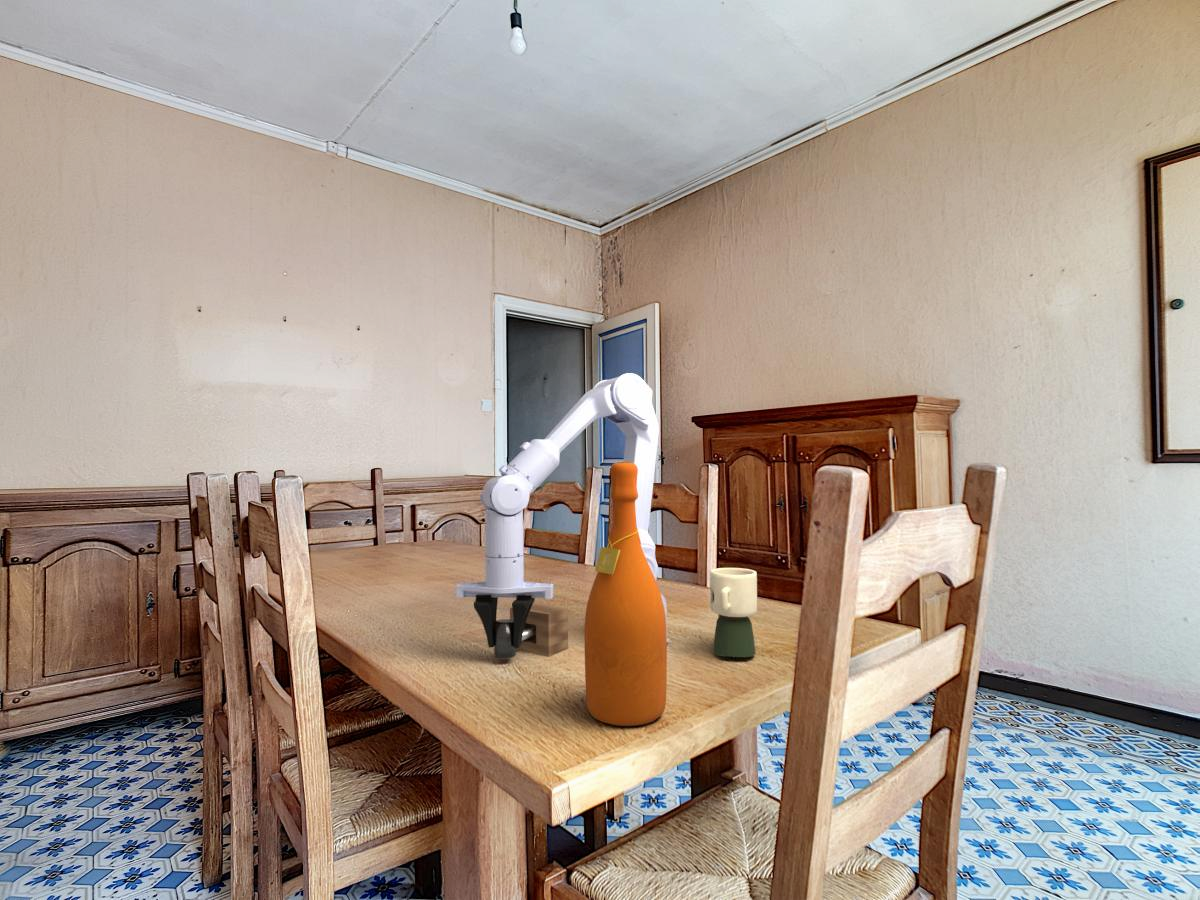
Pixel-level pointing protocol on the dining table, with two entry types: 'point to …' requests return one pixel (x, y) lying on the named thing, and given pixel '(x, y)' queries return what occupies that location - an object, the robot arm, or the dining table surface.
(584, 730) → the dining table surface
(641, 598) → the wine bottle
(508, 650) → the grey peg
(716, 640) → the character mug
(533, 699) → the dining table surface
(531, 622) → the eye block
